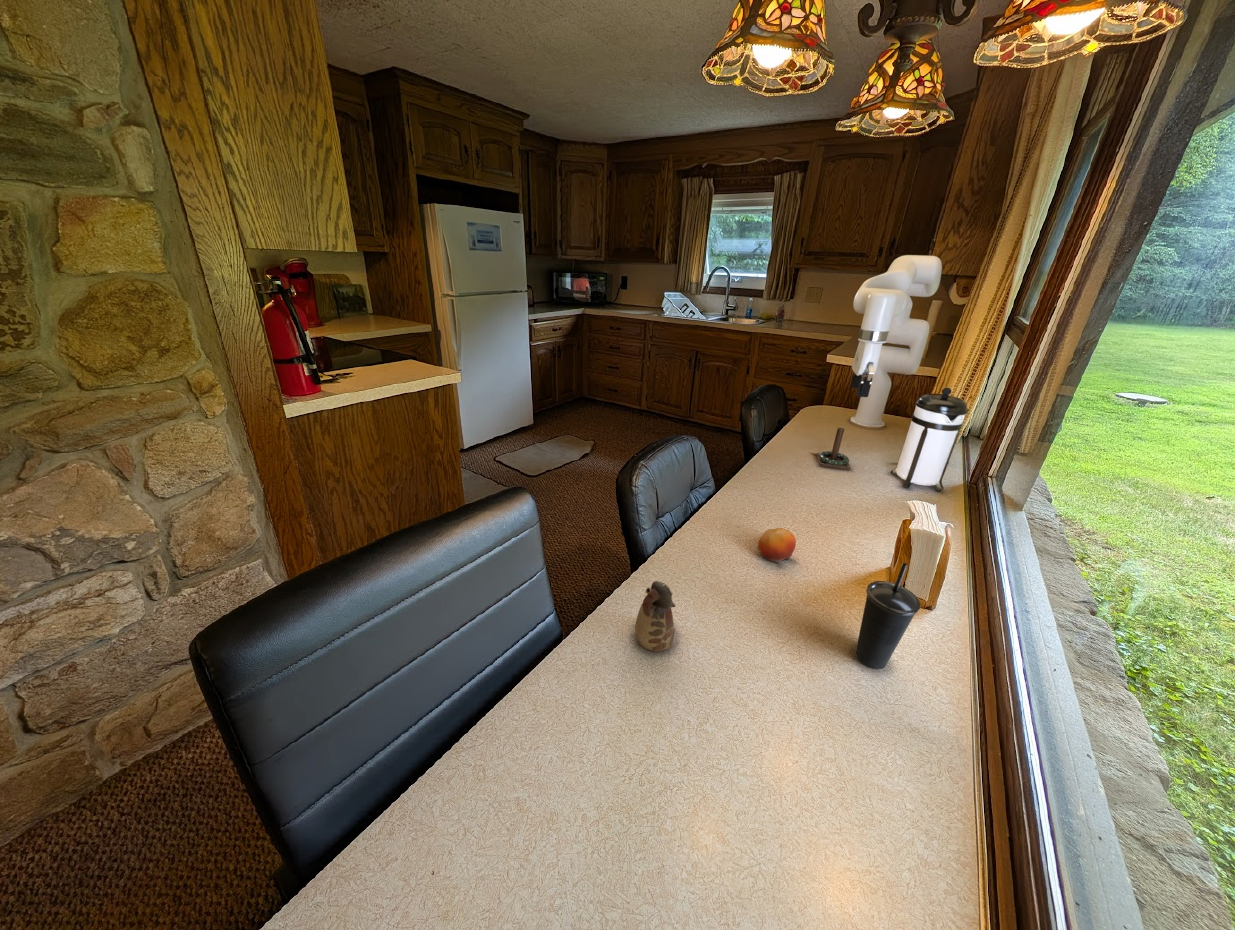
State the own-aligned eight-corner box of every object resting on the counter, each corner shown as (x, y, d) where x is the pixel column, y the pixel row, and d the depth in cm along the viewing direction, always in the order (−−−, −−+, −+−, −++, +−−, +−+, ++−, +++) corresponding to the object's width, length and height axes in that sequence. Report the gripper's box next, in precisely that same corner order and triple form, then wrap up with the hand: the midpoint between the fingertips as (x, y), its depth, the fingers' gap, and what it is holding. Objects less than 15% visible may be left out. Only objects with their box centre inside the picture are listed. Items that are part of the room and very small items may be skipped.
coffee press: (955, 485, 141) (991, 390, 128) (928, 498, 133) (964, 398, 120) (898, 464, 154) (926, 376, 141) (871, 474, 146) (898, 382, 133)
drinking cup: (901, 658, 80) (939, 565, 71) (886, 684, 75) (925, 587, 66) (856, 634, 84) (887, 543, 76) (839, 656, 80) (870, 563, 71)
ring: (816, 453, 158) (817, 448, 157) (845, 456, 155) (846, 452, 155) (820, 464, 150) (821, 459, 149) (850, 468, 147) (851, 463, 147)
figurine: (682, 643, 81) (688, 589, 76) (648, 658, 78) (653, 603, 73) (659, 617, 87) (664, 565, 82) (627, 630, 84) (630, 577, 79)
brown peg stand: (816, 455, 159) (824, 422, 153) (844, 459, 157) (853, 425, 151) (819, 466, 151) (828, 431, 145) (849, 470, 149) (858, 435, 143)
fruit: (785, 569, 99) (775, 533, 99) (757, 568, 105) (748, 534, 106) (808, 557, 103) (799, 523, 103) (780, 557, 110) (771, 524, 110)
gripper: (853, 330, 144) (841, 383, 151) (865, 340, 129) (850, 399, 136) (880, 332, 142) (865, 385, 150) (894, 342, 127) (878, 401, 135)
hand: (858, 392), depth 143 cm, fingers open, 9 cm apart
